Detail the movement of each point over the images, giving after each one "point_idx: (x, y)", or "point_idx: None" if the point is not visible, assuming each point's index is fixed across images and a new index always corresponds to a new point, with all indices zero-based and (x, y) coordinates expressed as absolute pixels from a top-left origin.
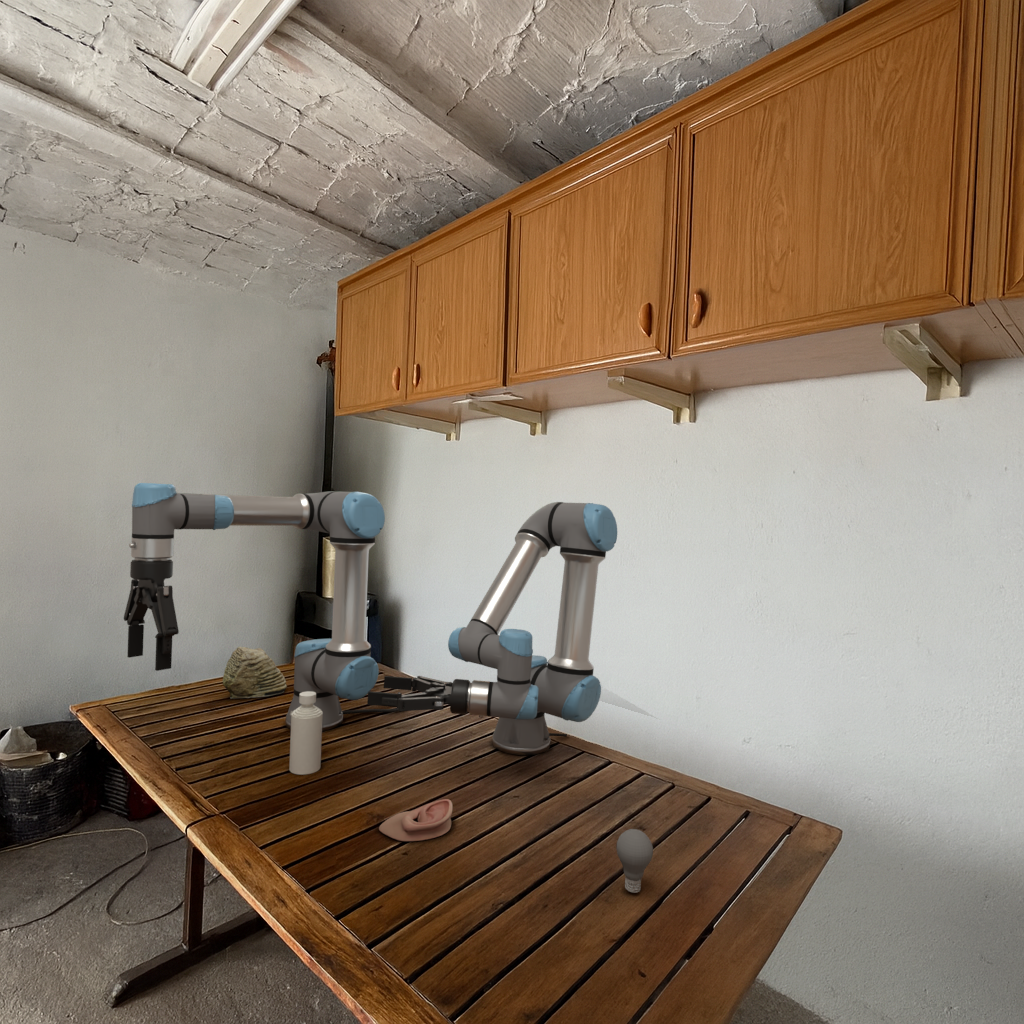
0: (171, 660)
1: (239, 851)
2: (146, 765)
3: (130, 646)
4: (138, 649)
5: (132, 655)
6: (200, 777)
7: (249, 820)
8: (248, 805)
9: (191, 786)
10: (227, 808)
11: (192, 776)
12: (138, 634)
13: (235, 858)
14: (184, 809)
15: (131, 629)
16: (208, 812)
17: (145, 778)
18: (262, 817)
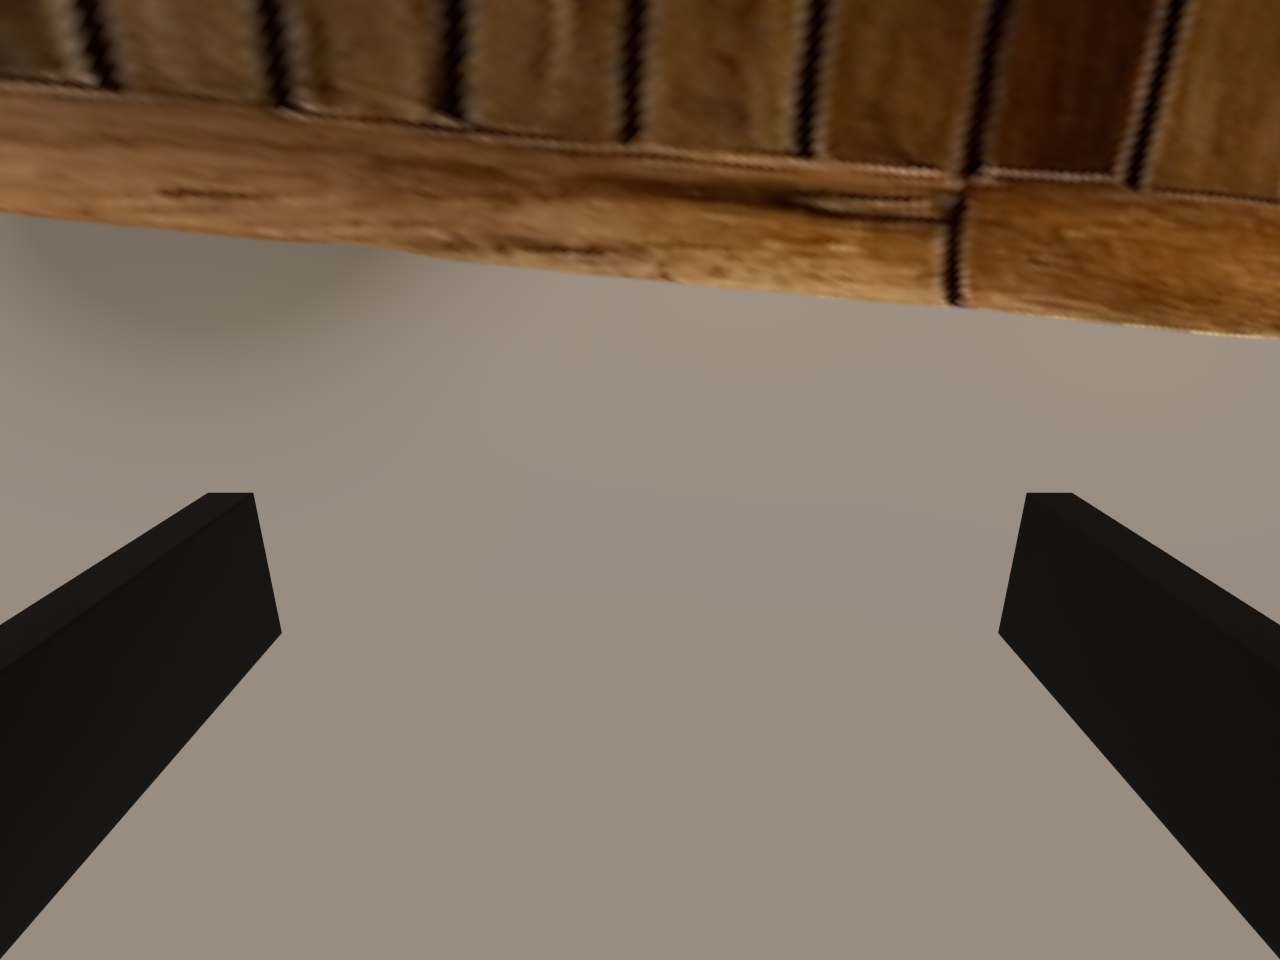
0: (1132, 532)
1: (1244, 264)
2: (323, 194)
3: (208, 706)
4: (215, 581)
5: (267, 610)
6: (605, 73)
7: (1108, 124)
8: (1004, 57)
9: (665, 147)
10: (956, 136)
11: (571, 95)
12: (50, 727)
13: (1265, 294)
14: (832, 260)
15: (3, 929)
16: (924, 207)
17: (460, 253)
18: (1134, 71)
